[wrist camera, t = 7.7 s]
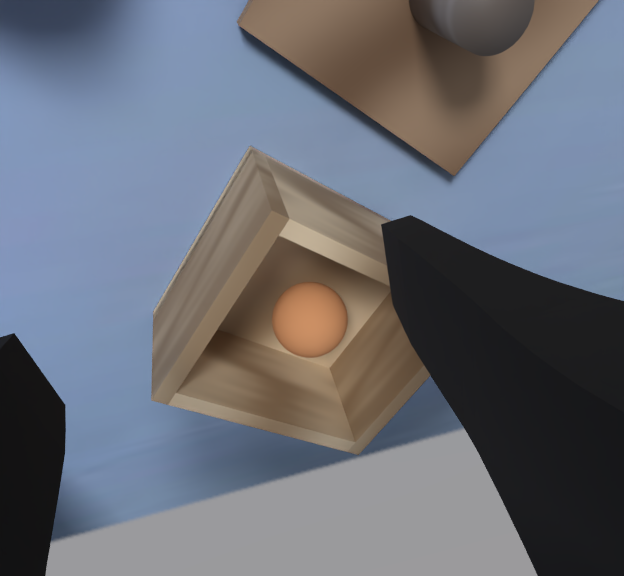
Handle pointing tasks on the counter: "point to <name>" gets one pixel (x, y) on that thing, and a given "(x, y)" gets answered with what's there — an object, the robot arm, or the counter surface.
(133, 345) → the counter surface
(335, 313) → the ball
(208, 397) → the box
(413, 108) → the lid
